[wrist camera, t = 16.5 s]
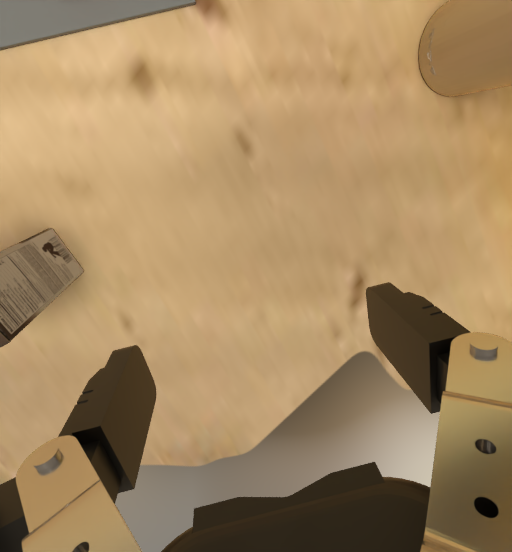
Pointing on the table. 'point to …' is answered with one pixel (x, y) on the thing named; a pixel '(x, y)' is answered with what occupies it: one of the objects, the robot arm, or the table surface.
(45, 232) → the brown food box
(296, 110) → the table surface
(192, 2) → the mat
